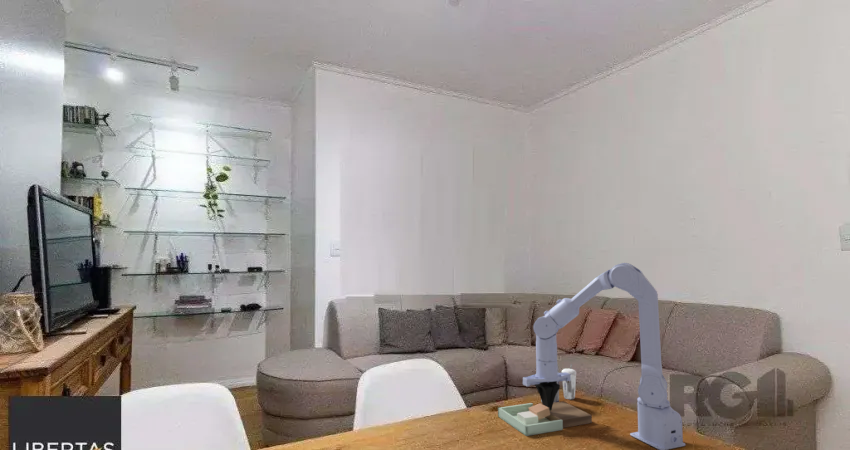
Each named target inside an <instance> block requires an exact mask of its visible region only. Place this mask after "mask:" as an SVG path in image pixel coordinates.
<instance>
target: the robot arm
mask: <svg viewBox="0 0 850 450" xmlns="http://www.w3.org/2000/svg"><path fill="white" fill-rule="evenodd" d="M614 288H617V289H619V290H621V291H624V292H626V293H628V295H631V297H633V298H634V299H635V300H637V303H638V305H637V306H638V321H639V324H638V325H639V341H640V359H641V361H640V362H641V368H640V369H641V375H640V378H639V385H638V387H637V394H638V397H637V399H636V400H637V402H636V403H637V431H635V432H630V433H629V435H630V436H631V437H633V438H635V439H637V440H639V441H641V442H643V443H644V444H647V445H648V446H651V447H653V448H655V449H657V450H671V449H676V448H681V447H685V446H686V443H685V442H684V439H683V438H684V437H683V419H682V416H681V414H680V413H679V412H678V411H677V410H674V409H673V408H672V406H671V402H670V401H669V400H668V391H667V390H668V381H667V380H666V378H665V376H664V374H663V373H664V372H663V366H662V365H663V364H662V352H661V351H662V349H661V348H662V347H661V331H660V329H661V328H660V314H659V312H660V311H659V310H660V309H659V296H658V295H659V294H658V291H657V289H656V288H655V287H654V285H653V284H652V283H651V281H650V280H648V278H647V277H646V276H645V275H644V273H643V271H642V270H641V269H639V268H637V267H636V266H635V265H632V264H631V263H628V262H621V263H618V264H615V265H613V267H611V268H610V269H607V270H606V271H604V272H602V273H601V274H599V275H598V276H596V277H595V278H594V279H592V280H591V281H590V282H589V283H588V284H587V285H585V286H584V287H583V288H582V289H581V290H580V291H579V292H577V293H576V294H575V295H574V296H573V297H572V298H569V297H564V298H562V299H561V298H559V299H557V300H556V304H555V305H554V306H553V307H552V308H550V309H549V310H545V311H544V312H543V315H542V316H540V317H537V319H536V320H535V322H534V323H533V332H534V334H535V363H536V364H535V369H536V371H535V374H532V375H529V376H523V377H522V385H523V386H526V387H530V386H535V388H536V390H537V392H538V395H539V397H540V401H541V400H542V402H541V404H543V405H545V406H547V407H548V408H549V411H551V410H552V406H553V402H554V398H555V396H556V394H557V392H558V390H559V391H560V388H561V386H560V385H561V384H560V382H563V381H571V378H570V374H569V373H566V372H564V373H562V372H559V373H558V372H557V364H558V342H557V333H558V332H559V330H560V329H563V328H564V327H566V325H568V324H569V323H570V322H571V321H573V320H574V319H576V318H577V317H578V316H579V315H580V307H582V306H583V305H584V304H586V303H588V301H590V300H591V299H592V298H594V297H596V296H597V294H599V293H601V292H602V291H606V290H612V289H614ZM557 382H559V384H557Z"/></svg>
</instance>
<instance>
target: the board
mask: <svg viewBox="0 0 850 450" xmlns="http://www.w3.org/2000/svg"><path fill="white" fill-rule="evenodd" d="M592 416H593V415H592V414H590V413H588V412H587V411H584V410H582V409H580V408H577V407H576V406H573V405H572V404H570V403H568V402H566V401H564V400H561V401H559V402H554V403H553V406H552V410H551V411H550V415H549V416H547V417H545V418H546V419H548V420H550V421H555V420H563V429H564V428H569V427H575V426H581V425H587V424H592V423H593V420H592V419H593V418H592Z"/></svg>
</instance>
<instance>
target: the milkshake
mask: <svg viewBox="0 0 850 450" xmlns="http://www.w3.org/2000/svg"><path fill="white" fill-rule="evenodd" d="M569 364H570V366H569V367H568V368H562V370H561V372H560V373H564V372H566V373H569V374H570V378H571V381H562V389H563V390H562V392H563V397H564V399H566V400H572V401H573V400H574V399H575V398H576V384H577V371H576V369H573V368H572V366H573V364H572V363H569Z"/></svg>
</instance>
